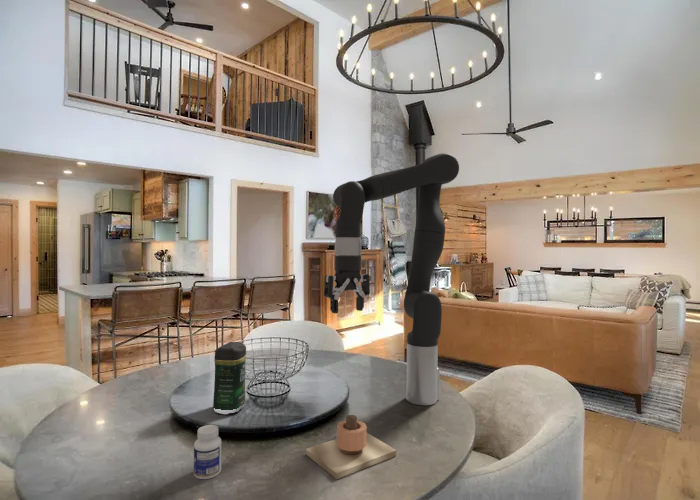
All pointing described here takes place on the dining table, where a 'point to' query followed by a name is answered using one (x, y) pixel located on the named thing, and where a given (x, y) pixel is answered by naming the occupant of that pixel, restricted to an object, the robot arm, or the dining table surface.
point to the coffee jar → (229, 376)
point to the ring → (351, 436)
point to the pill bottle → (207, 452)
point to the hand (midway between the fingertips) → (347, 311)
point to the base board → (349, 456)
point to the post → (351, 425)
